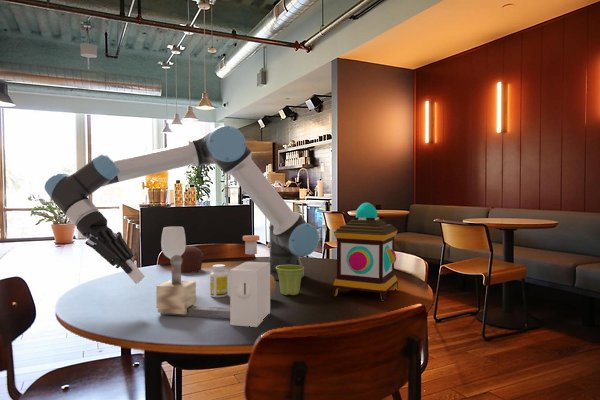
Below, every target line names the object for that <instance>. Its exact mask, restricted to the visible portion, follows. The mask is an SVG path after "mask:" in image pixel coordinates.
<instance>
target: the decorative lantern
mask: <svg viewBox="0 0 600 400" xmlns="http://www.w3.org/2000/svg"><path fill="white" fill-rule="evenodd" d="M397 233H398V229H397V228H396V227H395V226H393V225H392V224H391V223H387V222H386V221H383V219H381V217H380V216H378V212H377V209H376V207H375V206H374V205H373V204H371V203H370V202H363V203H361V204H360V205H359V206H358V208H357V209H356V211H355V216H354V217H352V219H350V220H349V222H347V223H346V224H343V225H340V226H339V227H338V228H336V229H335V231H333V234H334V237H335V239H336V278H335V280H334V282H333V285H332V295H333V296H334V297H336V296H338V292H339V289H345V290H354V291H362V292H368V293H369V292H371V293H378V294H379V295H380V299H381V301H382V300H385V301H386V299H387V293H388V292H389V291H390V289H393V288H397V289H398V288H399V280H398V278H397V276H396V274H395V263H396V261H397V254H396V252H395V239H396V235H397Z"/></svg>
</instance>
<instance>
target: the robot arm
mask: <svg viewBox="0 0 600 400" xmlns="http://www.w3.org/2000/svg"><path fill="white" fill-rule="evenodd" d="M252 154H253V153H252V151H251V150H250V148H249V147H248V145H247V143H246V138H245V136H244V134H243V133H242V131H241V130H239V129H238V128H236V127H234V126H231V125H219V126H217V127H215V128H213V129H212V130H210V131H209V132H208V133H206V134H204V135H202V136H199V137H196V138H192V139H189V140H188V142H186V143H183V144H178V145H174V146H170V147H165V148H159V149H155V150H153V151H147V152H142V153H138V154H133V155H129V156H124V157H120V158H115V159H111V158H110V157H109V156H108V155H107V154H106V153H102V154H100V155H98V156H97V157H94V158H93V159H92V160H90V161H89V162H88V163H86V164H85V165H84V166H82V167H81V168H80V169H78V170H77V171H76V172H74V173H72V174H71V175H69V174H67V173H65V172H61V173H57V174H56V175H55V174H54V175H52V176H50V177H49V178H48V180H46V182H45V184H44V190H45V192H46V194H47V195H48V196H49V197H50V199H51V201H53V203H54V204H55V205H56V207H58V208H59V210H60V211H62V213H63V214H64V215H65V216H66V217H67V219H69V221H70V222H71V223H72V224H73V226H74V227H76V229H77V231H78V232H79V233H80V235H82V236H83V237H84V238H88V239H87V240H86V241H85V245H86V246H88V247H90V248H92V249H93V250H94V251H95V252H97V254H98V255H100V256H101V257H102V258H103V259H104V260H106V262H107V263H109V264H110V265H111V266H113V267H115V268H116V269H119V268H121V269H122V270H123V271H124V273H125V274H127V275H128V276H129V279H131V280H132V281H133V283H135V285H137V284H139V283H140V282H142V281H143V279H144V278H145V277H146V276H145V274H143V271H141V270H140V269H139V267H138V266H137V265H136V264H135V263H134V262H133V260H132V259H133V258H134V253H133V252H132V250H131V249H130V247H129V245H128V244H127V243H126V242H127V241H125V239H124V238H123V235H122V234H123V233H122V232H120V231H117V233H116V232H113V230H112V229H111V228H110V227H109V226H108V220H107V217H105V216H104V215H103V213H102V212H100V211H99V209H98V207H97V206H96V205H95V204H94V202H92V201H91V200H90V198H88V197H89V196H90V195H92V194H93V193H94V192H96V191H97V190H99V189H101V188H102V187H106V186H108V185H109V186H110V185H114V184H117V183H119V182H125V181H128V180H133V179H136V178H141V177H145V176H150V175H154V174H158V173H159V174H160V173H162V172H168V171H171V170H173V169H175V170H176V169H179V168H183V167H188V166H192V165H194V166H195V167H199V166H200V167H201V166H204V165H205V166H206V165H215V164H216V165H217V166H218V167H219V169H220V170H221V171H222V172H223V173H224V174H225V175H230V176H232V177H233V178H234V180H235V181H236V182H237V184H238V185H239V186H240V187H241V188H242V189H243V191H244V192H245V193H246V194H247V196H248V197H249V198H250V200H251V201H252V202H253V203H254V205H256V206H257V208H258V209H259V210H260V212H261V213H262V215H264V217H265V218H266V219H267V220H268V222H269V227H268V228H269V258H268V261H267V262H268V263H270V275H272V276H273V277H274V279H275V281H279V276H278V273H277V269H276V266H279V265H300V266H303V264H302V262H301V261H302V260H301V258H300V257H307V256H309V255H311V254H312V253H314V251H315V250H316V249H317V247H318V245H319V242H320V235H319V231H318V229H317V228H316V227H315V226H314V225H313V224H311V223H308V222H307V221H306V220H305V218H304V217H303V216H302V215H301V214H300V212H298V211H293V210H292V209H291V208H290V206H289V205H288V204H287V203H286V201H285V200H284V199H283V197H282V196H281V195H280V194H279V192H278V191H277V189H276V188H274V186H273V185H272V183H271V182H270V181H269V180H268V179H267V177H266V176H265V175H264V173H263V172H262V170H261V169H260V168H259V167H258V166H257V164H256V163H255V162H254V161H253V159H252ZM304 270H305V269H303V273H302V276H301V279H302V278H304V276H305V272H304Z"/></svg>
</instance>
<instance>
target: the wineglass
mask: <svg viewBox="0 0 600 400" xmlns="http://www.w3.org/2000/svg"><path fill="white" fill-rule="evenodd" d="M186 240H187V238H186V233H185V228H184V227H183V226H165V227H163V229H162V233H161V240H160V245H161V251H162V253H163V255H164V256H165V257H166V258H167V259H169V260H170V259H171V257H172V256H174V255H179V256H181V255H182V254H183V253H184V251H185V248H186V247H187V243H186V242H187V241H186Z"/></svg>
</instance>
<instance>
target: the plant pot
mask: <svg viewBox="0 0 600 400" xmlns="http://www.w3.org/2000/svg"><path fill="white" fill-rule="evenodd" d="M276 269H277V273H278V276H279V280H278V282H279V289H280V290H279V291H280V295H284V296H288V295H290V296H296V295H299V293H300V289H301V284H302V283H301V282H302V278H301V276H302V273H303V270H305V266H304V265H302V266H300V265H279V266H276Z"/></svg>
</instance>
